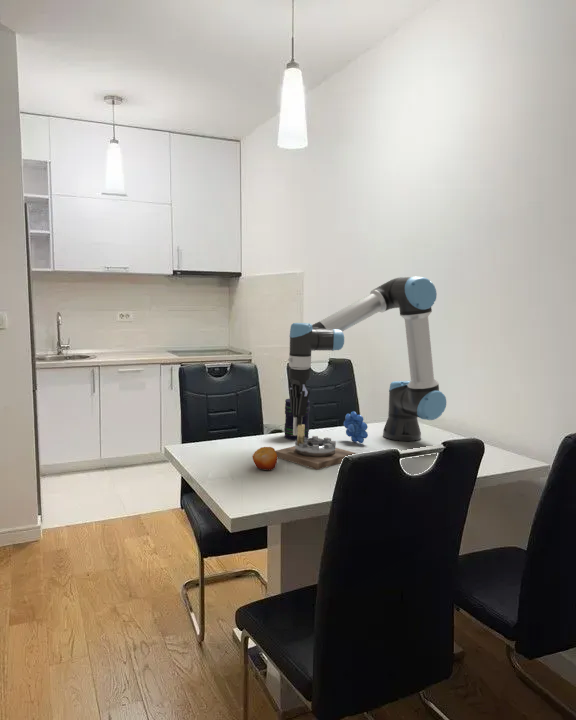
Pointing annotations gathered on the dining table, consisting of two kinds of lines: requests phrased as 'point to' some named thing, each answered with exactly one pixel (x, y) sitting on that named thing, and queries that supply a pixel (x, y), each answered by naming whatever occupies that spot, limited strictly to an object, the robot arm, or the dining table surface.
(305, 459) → the base plate
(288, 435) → the storage jar
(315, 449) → the crank wheel
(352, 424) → the grapes
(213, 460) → the dining table surface
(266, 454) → the fruit
